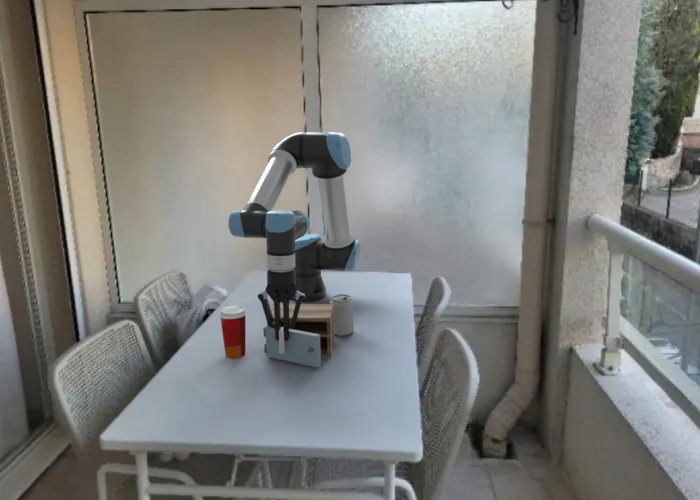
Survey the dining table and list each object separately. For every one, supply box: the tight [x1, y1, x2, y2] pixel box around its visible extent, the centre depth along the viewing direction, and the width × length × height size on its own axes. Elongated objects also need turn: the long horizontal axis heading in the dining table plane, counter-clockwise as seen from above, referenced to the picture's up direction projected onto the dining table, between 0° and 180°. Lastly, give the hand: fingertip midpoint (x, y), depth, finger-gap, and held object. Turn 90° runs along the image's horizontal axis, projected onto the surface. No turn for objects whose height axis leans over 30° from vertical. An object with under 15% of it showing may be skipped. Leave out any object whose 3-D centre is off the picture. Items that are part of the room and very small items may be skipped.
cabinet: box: [266, 303, 335, 358], centre depth 168 cm, size 12×18×12 cm, turn 87°
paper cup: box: [218, 305, 247, 360], centre depth 164 cm, size 8×8×14 cm
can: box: [329, 293, 355, 337], centre depth 180 cm, size 8×8×12 cm
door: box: [263, 324, 322, 368], centre depth 158 cm, size 3×18×9 cm, turn 64°
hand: (282, 351), depth 157 cm, fingers closed
